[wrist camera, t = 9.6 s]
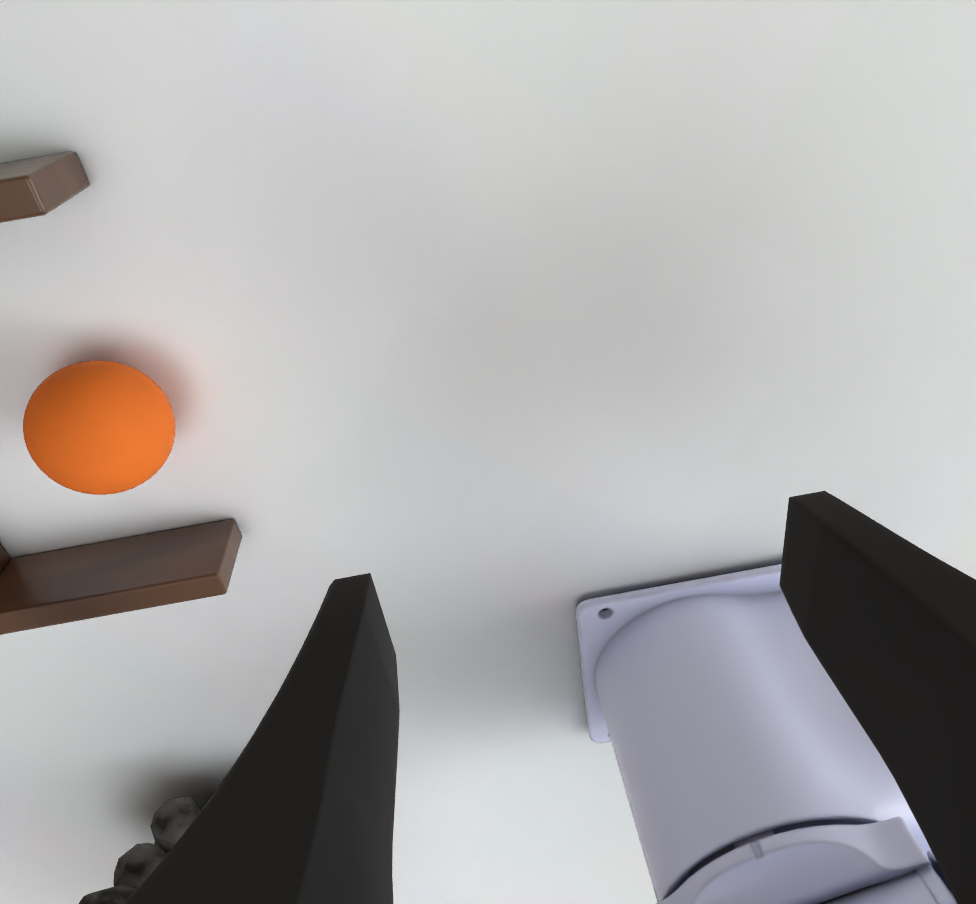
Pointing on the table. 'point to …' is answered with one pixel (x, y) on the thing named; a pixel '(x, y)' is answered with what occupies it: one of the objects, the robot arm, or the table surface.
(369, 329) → the table surface
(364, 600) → the robot arm
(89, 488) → the ball
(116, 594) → the brown u-shaped wall
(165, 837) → the fruit
